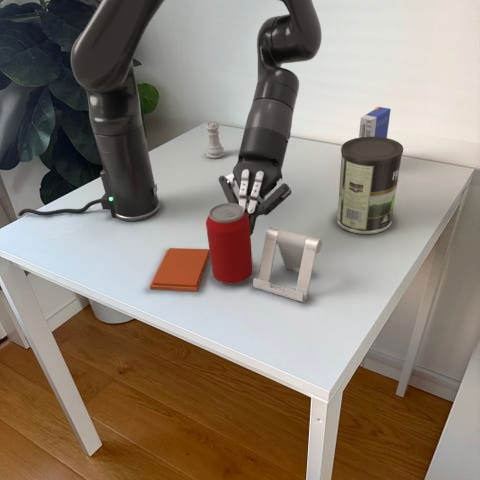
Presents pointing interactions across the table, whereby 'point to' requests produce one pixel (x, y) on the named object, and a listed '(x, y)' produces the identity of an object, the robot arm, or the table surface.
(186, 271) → the folded cloth
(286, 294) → the tablet stand
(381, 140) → the coffee can
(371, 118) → the walkman
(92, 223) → the table surface
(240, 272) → the beverage can
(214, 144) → the rook chess piece
